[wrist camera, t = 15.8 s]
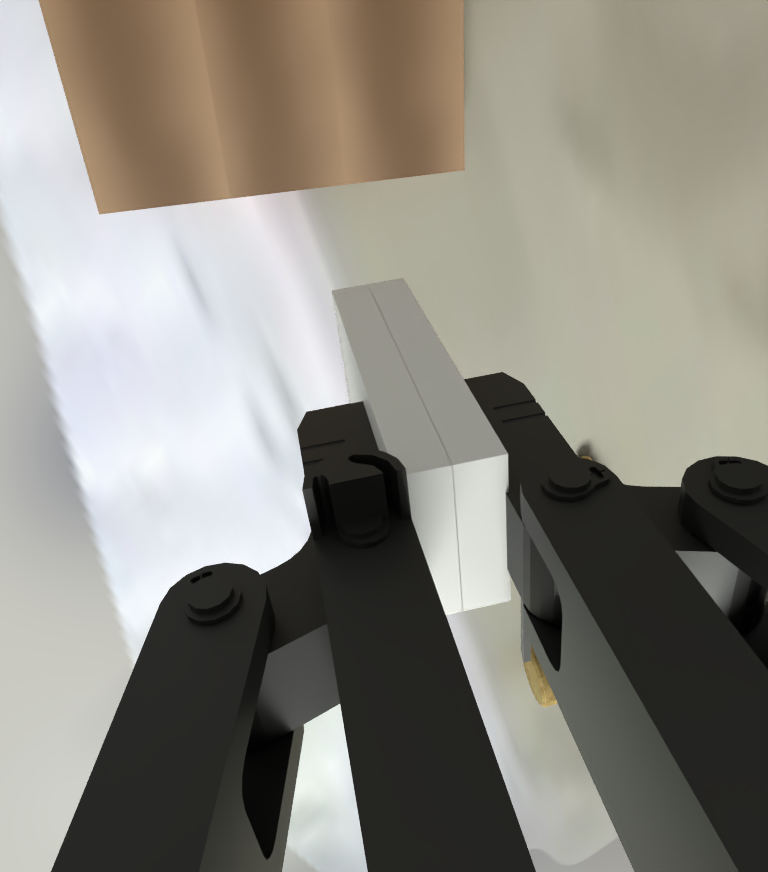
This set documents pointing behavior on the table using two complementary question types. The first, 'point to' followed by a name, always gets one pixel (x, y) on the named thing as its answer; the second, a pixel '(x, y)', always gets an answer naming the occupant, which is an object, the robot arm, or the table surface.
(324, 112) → the board
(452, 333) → the table surface
